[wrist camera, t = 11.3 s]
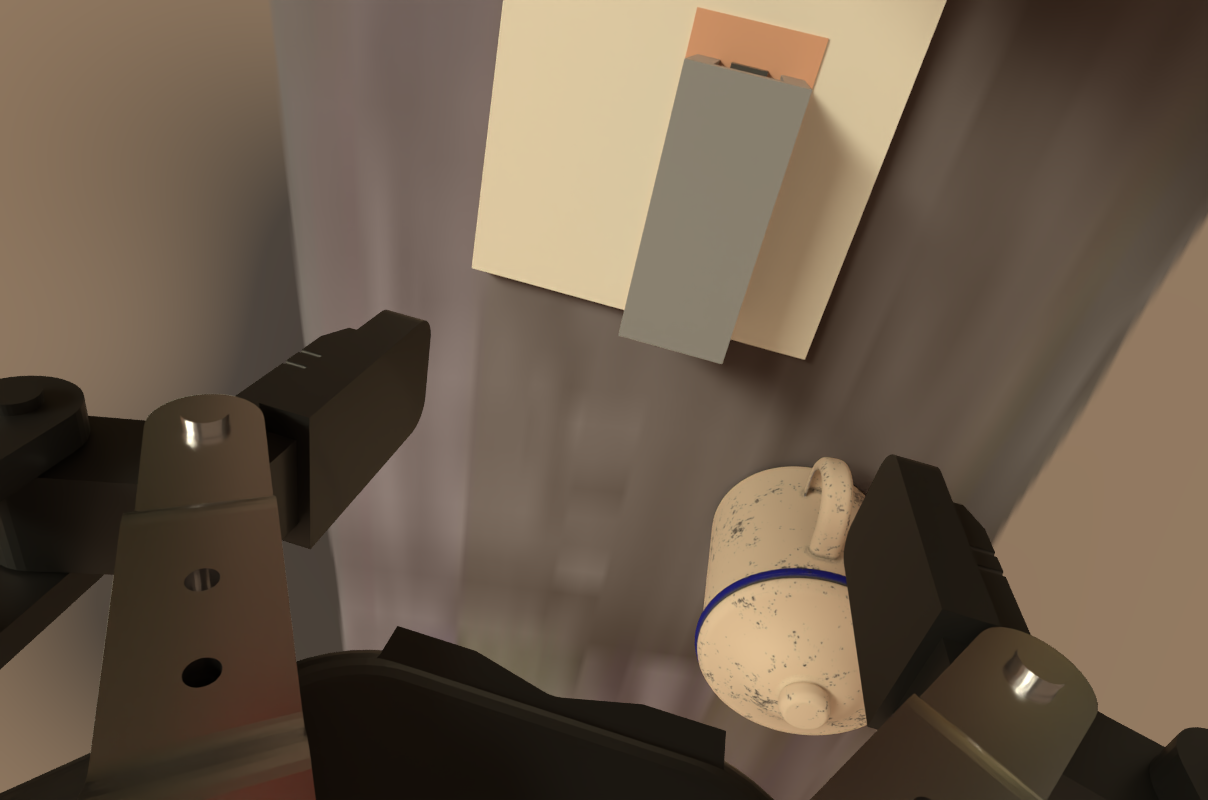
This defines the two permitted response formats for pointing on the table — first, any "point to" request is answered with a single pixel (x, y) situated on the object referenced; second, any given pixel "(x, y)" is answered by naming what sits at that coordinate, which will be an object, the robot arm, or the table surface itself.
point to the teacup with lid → (784, 601)
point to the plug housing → (711, 205)
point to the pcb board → (639, 125)
